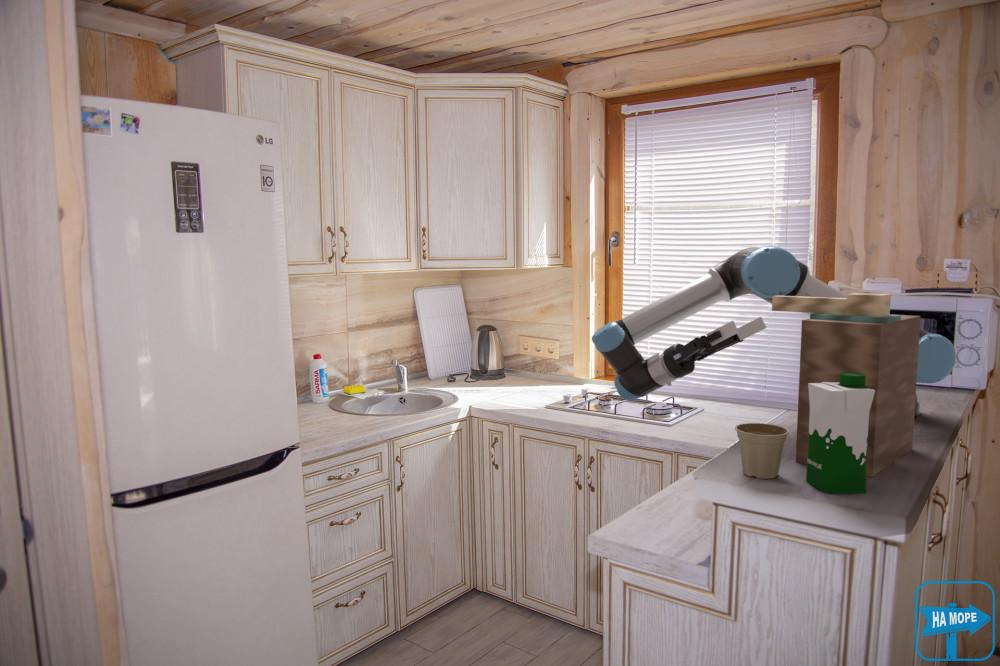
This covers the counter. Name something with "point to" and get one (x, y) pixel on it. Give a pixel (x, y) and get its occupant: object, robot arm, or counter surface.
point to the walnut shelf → (886, 364)
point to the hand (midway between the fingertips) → (749, 324)
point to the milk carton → (839, 434)
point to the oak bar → (836, 304)
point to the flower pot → (761, 448)
